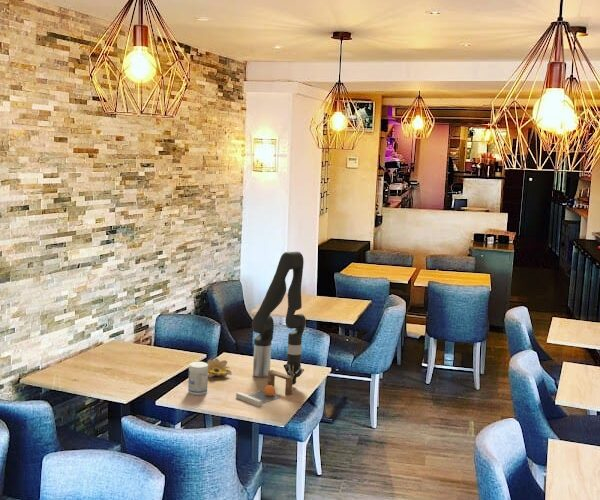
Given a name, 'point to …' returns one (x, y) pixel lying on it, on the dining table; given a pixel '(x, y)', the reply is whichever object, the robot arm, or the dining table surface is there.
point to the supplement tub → (198, 378)
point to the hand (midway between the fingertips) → (293, 384)
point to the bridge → (288, 378)
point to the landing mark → (263, 396)
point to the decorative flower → (217, 368)
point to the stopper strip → (249, 399)
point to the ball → (269, 390)
